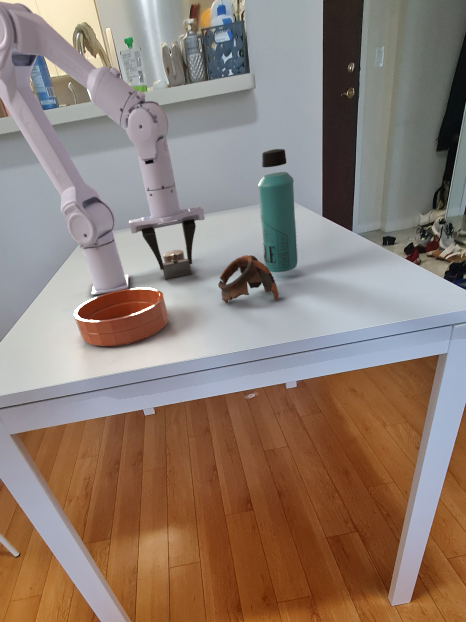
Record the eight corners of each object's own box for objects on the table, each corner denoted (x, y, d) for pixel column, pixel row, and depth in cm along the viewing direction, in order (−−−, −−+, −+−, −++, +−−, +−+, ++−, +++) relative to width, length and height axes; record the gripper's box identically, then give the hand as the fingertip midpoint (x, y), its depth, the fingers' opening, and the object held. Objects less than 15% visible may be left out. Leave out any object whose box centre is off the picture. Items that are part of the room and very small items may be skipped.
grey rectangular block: (164, 277, 100) (161, 263, 99) (191, 271, 101) (188, 258, 99) (164, 279, 99) (161, 265, 97) (191, 274, 99) (189, 260, 97)
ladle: (165, 264, 108) (159, 236, 104) (184, 260, 108) (179, 232, 104) (169, 288, 94) (162, 257, 90) (191, 283, 94) (186, 252, 90)
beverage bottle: (304, 270, 90) (300, 144, 77) (288, 281, 86) (281, 151, 73) (275, 269, 93) (266, 147, 80) (259, 280, 90) (247, 154, 76)
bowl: (87, 323, 85) (78, 298, 82) (167, 307, 85) (161, 282, 82) (79, 356, 73) (68, 328, 70) (171, 337, 74) (164, 309, 71)
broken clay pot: (283, 308, 78) (256, 270, 72) (238, 334, 83) (210, 300, 77) (282, 268, 84) (257, 231, 79) (240, 295, 89) (214, 261, 84)
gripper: (121, 197, 82) (141, 277, 91) (200, 182, 82) (212, 263, 91) (122, 192, 87) (141, 268, 96) (196, 178, 87) (208, 255, 96)
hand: (176, 265), depth 94 cm, fingers open, 5 cm apart
